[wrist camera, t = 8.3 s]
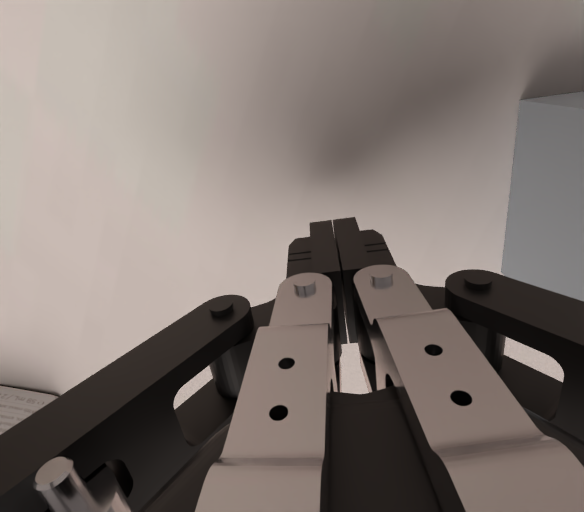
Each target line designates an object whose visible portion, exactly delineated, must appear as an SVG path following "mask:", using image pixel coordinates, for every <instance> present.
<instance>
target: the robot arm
mask: <svg viewBox="0 0 584 512" xmlns="http://www.w3.org/2000/svg"><path fill="white" fill-rule="evenodd" d="M333 227H334V233H333ZM333 227H332V222H331V220H328V221H320V222H312V223H310V237H305V238H297V239H295V240H294V241H293V242H292V243H291V244H290V245H289V250H288V263H287V277H286V279H285V280H284V281H283V282H282V283H281V284H280V285H279V288H278V292H277V296H276V298H275V299H273V300H272V301H269V302H267V303H264V304H261V305H258V306H255V307H250V303H249V301H248V300H247V299H246V298H245V297H242V296H239V295H224V296H219V297H216V298H213V299H211V300H209V301H207V302H205V303H203V304H202V305H200V306H199V307H197V308H196V309H194V310H193V311H191V312H190V313H188V314H186V315H185V316H183V317H182V318H180V319H179V320H177V321H176V322H174V323H173V324H171V325H169V326H168V327H166V328H165V329H163V330H162V331H160V332H159V333H157V334H155V335H154V336H152V337H151V338H149V339H148V340H146V341H145V342H143V343H142V344H140V345H138V346H137V347H135V348H134V349H132V350H131V351H129V352H128V353H126V354H125V355H123V356H121V357H120V358H118V359H117V360H115V361H114V362H112V363H111V364H109V365H107V366H106V367H104V368H103V369H101V370H100V371H98V372H97V373H95V374H94V375H92V376H90V377H89V378H87V379H86V380H84V381H83V382H81V383H80V384H78V385H77V386H75V387H73V388H72V389H70V390H69V391H67V392H66V393H64V394H63V395H61V396H59V397H58V398H56V399H55V400H53V401H52V402H50V403H49V404H47V405H46V406H44V407H42V408H41V409H39V410H38V411H36V412H35V413H33V414H32V415H30V416H29V417H27V418H25V419H24V420H22V421H21V422H19V423H18V424H16V425H15V426H13V427H11V428H10V429H8V430H7V431H5V432H4V433H2V434H1V435H0V512H584V301H581V300H578V299H575V298H571V297H568V296H565V295H562V294H559V293H556V292H553V291H550V290H547V289H543V288H540V287H537V286H534V285H531V284H528V283H525V282H522V281H518V280H515V279H512V278H509V277H506V276H503V275H500V274H497V273H493V272H490V271H485V270H462V271H458V272H455V273H453V274H451V275H450V276H448V277H447V279H446V281H445V287H432V286H423V285H419V284H415V283H414V281H413V280H412V278H411V277H410V275H409V274H408V273H407V272H406V271H405V270H404V269H402V268H400V267H397V266H396V264H395V262H394V260H393V258H392V255H391V253H390V251H389V250H388V247H387V245H386V242H385V240H384V238H383V236H382V235H381V234H380V233H378V232H376V231H375V230H373V229H372V230H364V231H359V228H358V225H357V222H356V219H355V217H352V218H344V219H336V220H333ZM334 237H335V238H334ZM344 312H345V314H344ZM345 318H346V323H347V329H348V335H349V341H350V343H358V345H359V353H360V364H361V368H362V371H363V374H364V378H365V381H366V384H367V388H368V391H369V393H367V394H350V393H342V392H341V363H340V357H341V354H342V348H341V344H347V334H346V324H345ZM506 337H508V338H511V339H513V340H515V341H517V342H520V343H522V344H524V345H527V346H529V347H531V348H534V349H536V350H538V351H540V352H543V353H545V354H547V355H549V356H551V357H552V358H554V359H555V360H556V361H557V362H558V363H559V364H560V366H561V367H562V369H563V371H564V381H563V383H562V382H560V381H558V380H556V379H554V378H552V377H550V376H548V375H546V374H543V373H541V372H539V371H537V370H535V369H533V368H531V367H529V366H527V365H524V364H522V363H520V362H518V361H516V360H514V359H512V358H510V357H508V356H505V355H503V354H504V346H505V338H506ZM208 365H209V366H210V369H211V372H212V376H213V379H212V380H210V381H209V382H208V383H207V384H206V385H204V386H203V387H202V388H201V389H199V390H198V391H197V392H196V393H195V394H193V395H192V396H191V397H190V398H189V399H187V400H186V401H185V402H184V403H182V404H181V405H180V406H179V407H178V408H176V409H175V410H174V407H173V402H174V398H175V396H176V394H177V392H178V391H179V389H180V388H181V387H182V386H183V385H184V384H186V383H187V382H188V381H189V380H191V379H192V378H193V377H194V376H196V375H197V374H198V373H200V372H201V371H202V370H203V369H205V368H206V367H207V366H208Z"/></svg>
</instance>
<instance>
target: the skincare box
mask: <svg viewBox="0 0 584 512" xmlns="http://www.w3.org/2000/svg"><path fill="white" fill-rule="evenodd" d="M56 398H58V397H57V396H54V395H51V394H44V393H38V392H34V391H28V390H22V389H16V388H10V387H4V386H0V435H1V434H2V433H4V432H5V431H7V430H8V429H10V428H11V427H13V426H15V425H16V424H18V423H19V422H21V421H22V420H24V419H25V418H27V417H29V416H30V415H32V414H33V413H35V412H36V411H38V410H39V409H41V408H42V407H44V406H46V405H47V404H49V403H50V402H52V401H53V400H55V399H56Z"/></svg>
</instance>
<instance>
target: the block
mask: <svg viewBox="0 0 584 512" xmlns="http://www.w3.org/2000/svg"><path fill="white" fill-rule="evenodd" d="M501 272H502V273H503V274H504V275H505V276H506V277H509V278H512V279H515V280H518V281H522V282H525V283H528V284H531V285H534V286H537V287H540V288H543V289H547V290H550V291H553V292H556V293H559V294H562V295H565V296H568V297H571V298H575V299H578V300H581V301H584V91H581V92H574V93H567V94H559V95H552V96H545V97H538V98H530V99H523V100H520V104H519V113H518V122H517V131H516V140H515V149H514V158H513V168H512V177H511V186H510V195H509V204H508V213H507V222H506V231H505V240H504V250H503V259H502V268H501Z"/></svg>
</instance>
